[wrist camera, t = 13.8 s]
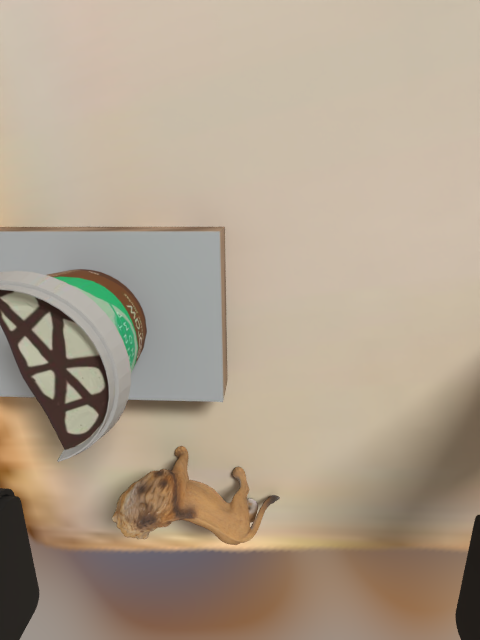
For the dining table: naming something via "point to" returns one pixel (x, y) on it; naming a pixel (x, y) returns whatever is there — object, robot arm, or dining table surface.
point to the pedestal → (142, 299)
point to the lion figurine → (187, 505)
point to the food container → (74, 347)
